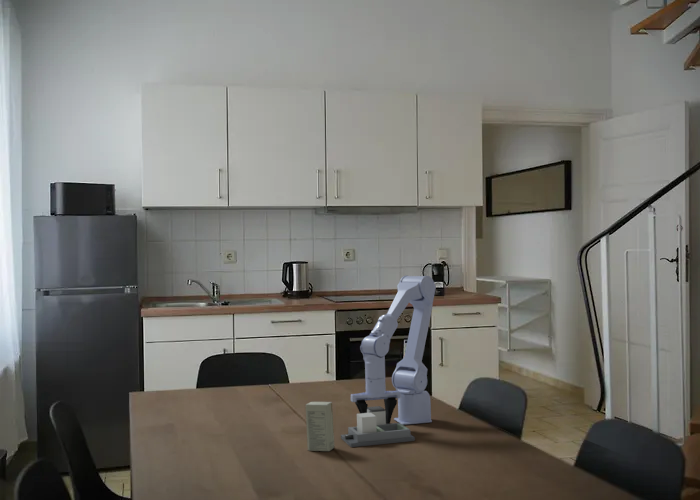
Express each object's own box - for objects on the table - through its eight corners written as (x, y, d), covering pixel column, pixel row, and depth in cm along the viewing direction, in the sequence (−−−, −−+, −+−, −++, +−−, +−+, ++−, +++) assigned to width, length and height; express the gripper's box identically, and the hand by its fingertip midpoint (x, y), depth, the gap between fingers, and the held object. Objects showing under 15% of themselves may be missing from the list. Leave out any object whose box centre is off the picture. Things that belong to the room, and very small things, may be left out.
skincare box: (335, 447, 200) (333, 401, 200) (329, 452, 196) (328, 404, 196) (312, 446, 202) (311, 400, 202) (306, 450, 198) (305, 403, 198)
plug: (380, 428, 221) (379, 406, 221) (386, 432, 216) (385, 409, 216) (367, 429, 219) (366, 407, 219) (372, 433, 215) (372, 410, 215)
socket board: (402, 432, 214) (401, 407, 214) (414, 440, 205) (414, 415, 205) (340, 438, 209) (339, 413, 209) (350, 447, 200) (349, 420, 200)
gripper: (394, 373, 223) (395, 419, 223) (347, 377, 219) (348, 424, 219) (402, 377, 217) (403, 424, 217) (354, 381, 213) (355, 429, 213)
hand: (376, 424), depth 218 cm, fingers open, 6 cm apart
